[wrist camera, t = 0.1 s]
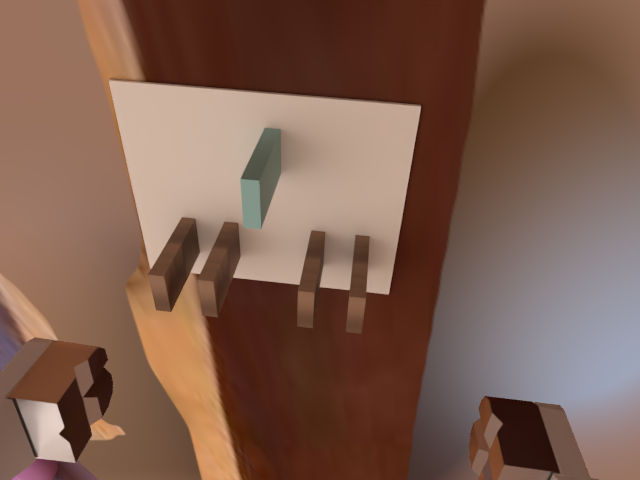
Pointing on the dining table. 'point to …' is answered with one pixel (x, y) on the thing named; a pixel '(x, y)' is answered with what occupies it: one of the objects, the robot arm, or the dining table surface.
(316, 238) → the domino
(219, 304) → the domino
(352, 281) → the domino
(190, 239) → the domino
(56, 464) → the container set
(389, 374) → the dining table surface
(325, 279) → the mat
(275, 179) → the teal domino
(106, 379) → the robot arm
